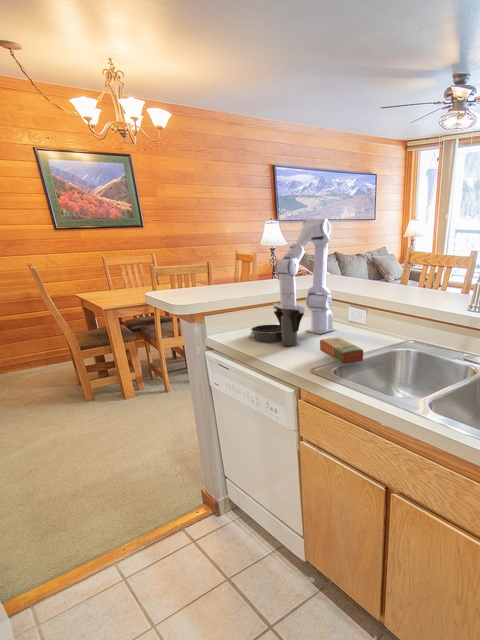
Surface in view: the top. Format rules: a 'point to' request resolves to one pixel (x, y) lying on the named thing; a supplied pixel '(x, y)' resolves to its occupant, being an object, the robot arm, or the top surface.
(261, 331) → the pan
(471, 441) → the top surface
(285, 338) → the bottle
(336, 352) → the carton
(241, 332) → the top surface
